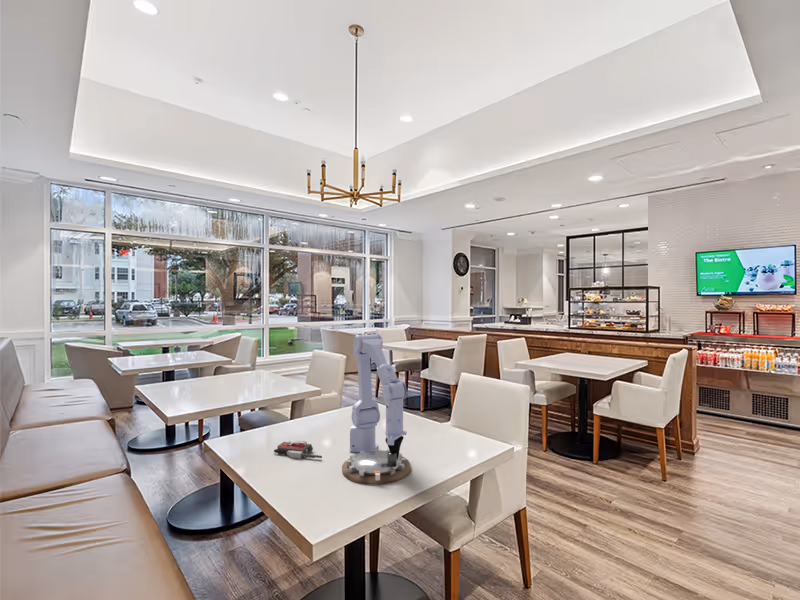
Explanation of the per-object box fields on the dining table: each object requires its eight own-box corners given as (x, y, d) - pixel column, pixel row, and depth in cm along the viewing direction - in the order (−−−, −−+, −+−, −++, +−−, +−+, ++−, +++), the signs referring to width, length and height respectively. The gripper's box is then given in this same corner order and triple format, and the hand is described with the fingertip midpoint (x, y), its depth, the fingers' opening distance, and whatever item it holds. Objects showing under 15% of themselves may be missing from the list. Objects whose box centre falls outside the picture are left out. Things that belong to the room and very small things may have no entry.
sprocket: (341, 457, 141) (341, 442, 141) (394, 450, 148) (394, 435, 148) (354, 481, 122) (354, 463, 122) (414, 471, 129) (414, 454, 129)
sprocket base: (332, 481, 126) (332, 472, 126) (353, 453, 148) (353, 445, 148) (404, 487, 122) (404, 477, 122) (414, 457, 144) (414, 449, 144)
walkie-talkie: (270, 457, 147) (320, 462, 142) (270, 444, 147) (320, 449, 142) (283, 448, 155) (330, 452, 150) (283, 436, 155) (330, 441, 150)
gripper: (402, 425, 125) (403, 469, 125) (409, 412, 139) (409, 451, 140) (380, 424, 126) (381, 467, 126) (389, 411, 141) (389, 450, 141)
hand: (394, 459), depth 133 cm, fingers closed
